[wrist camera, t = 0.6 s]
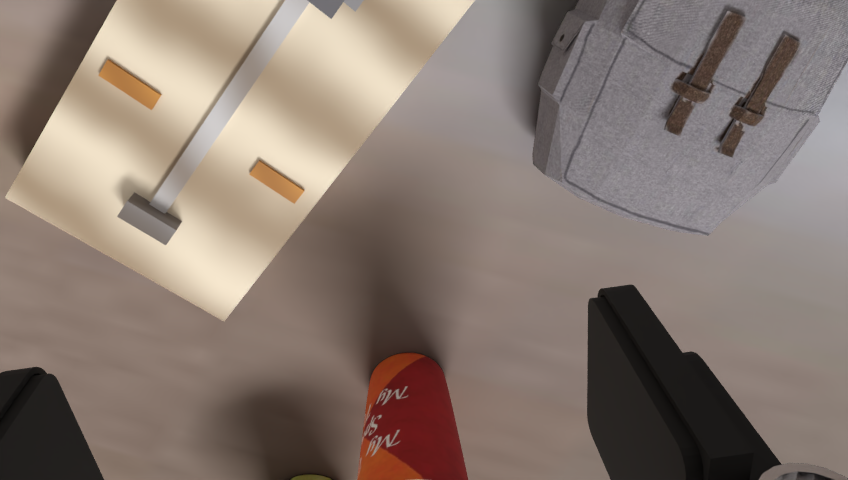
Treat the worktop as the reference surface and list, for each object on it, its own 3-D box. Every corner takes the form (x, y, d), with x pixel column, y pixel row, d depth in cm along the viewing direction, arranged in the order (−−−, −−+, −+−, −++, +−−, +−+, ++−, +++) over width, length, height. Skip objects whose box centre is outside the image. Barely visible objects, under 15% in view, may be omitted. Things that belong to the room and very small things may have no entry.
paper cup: (365, 332, 46) (358, 491, 33) (471, 348, 47) (502, 508, 35) (346, 416, 49) (334, 589, 37) (445, 430, 50) (465, 602, 38)
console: (313, -314, 30) (303, -345, 26) (537, -97, 34) (556, -97, 30) (30, 177, 39) (-7, 206, 36) (233, 296, 44) (219, 332, 40)
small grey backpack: (693, 221, 44) (891, -93, 35) (756, 286, 36) (1025, -92, 28) (487, 145, 40) (652, -219, 32) (509, 200, 33) (732, -256, 25)
